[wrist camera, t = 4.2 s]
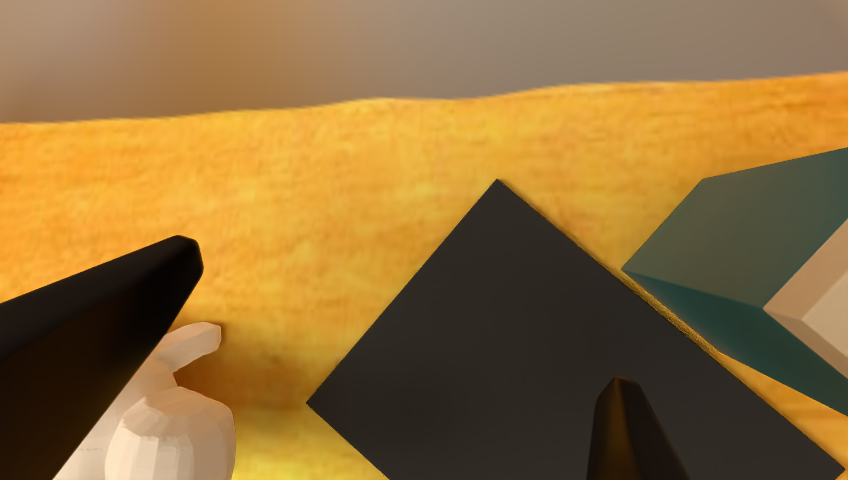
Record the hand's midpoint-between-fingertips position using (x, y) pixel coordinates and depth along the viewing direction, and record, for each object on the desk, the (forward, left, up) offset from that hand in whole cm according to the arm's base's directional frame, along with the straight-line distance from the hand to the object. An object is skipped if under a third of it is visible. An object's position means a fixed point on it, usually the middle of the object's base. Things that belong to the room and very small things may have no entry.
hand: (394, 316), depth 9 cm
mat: (-11, -1, -15) cm, 18 cm away
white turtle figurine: (+1, +17, -15) cm, 23 cm away
